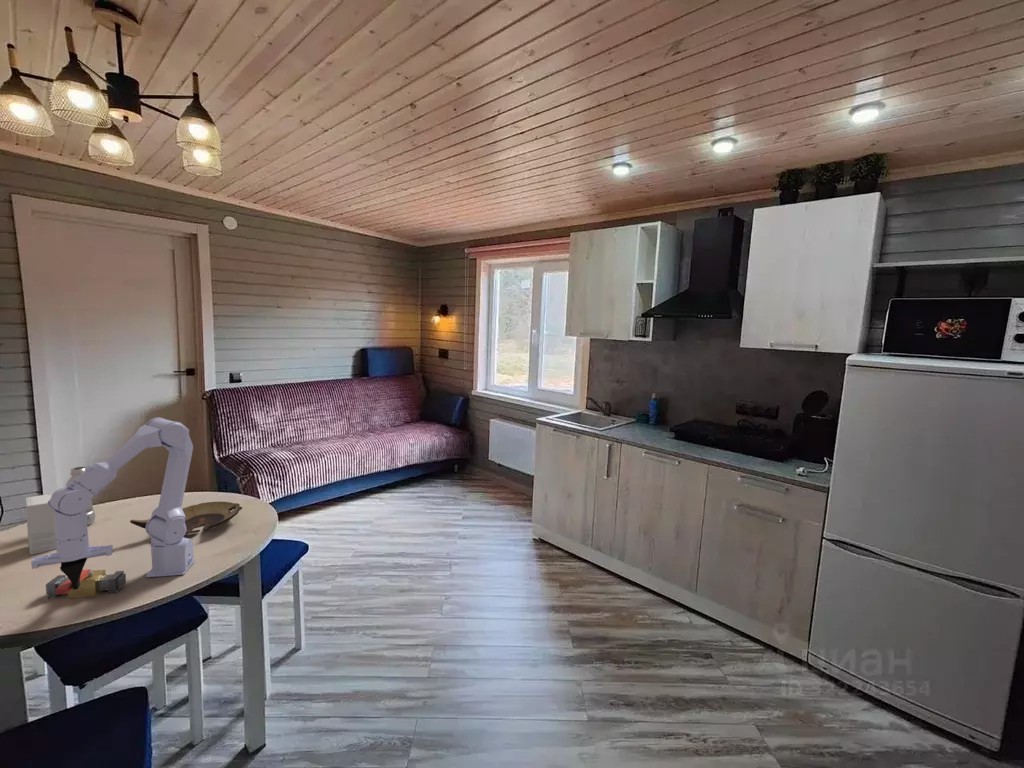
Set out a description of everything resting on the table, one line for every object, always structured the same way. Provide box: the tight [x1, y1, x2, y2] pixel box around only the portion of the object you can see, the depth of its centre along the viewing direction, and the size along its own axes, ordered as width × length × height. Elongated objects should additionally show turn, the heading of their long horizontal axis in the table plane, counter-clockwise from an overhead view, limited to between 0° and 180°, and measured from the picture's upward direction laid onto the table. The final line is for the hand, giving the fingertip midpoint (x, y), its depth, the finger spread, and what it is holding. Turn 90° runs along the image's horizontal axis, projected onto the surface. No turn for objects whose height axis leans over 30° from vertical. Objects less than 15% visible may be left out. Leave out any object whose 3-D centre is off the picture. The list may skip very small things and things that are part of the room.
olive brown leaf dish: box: [129, 501, 243, 535], centre depth 160 cm, size 22×30×8 cm
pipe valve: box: [45, 569, 127, 599], centre depth 122 cm, size 16×5×5 cm, turn 105°
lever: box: [56, 568, 93, 595], centre depth 118 cm, size 10×2×2 cm, turn 12°
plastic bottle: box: [65, 466, 96, 526], centre depth 157 cm, size 6×7×20 cm
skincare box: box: [25, 492, 57, 556], centre depth 142 cm, size 8×7×16 cm
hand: (76, 587), depth 116 cm, fingers closed, pressing on lever
